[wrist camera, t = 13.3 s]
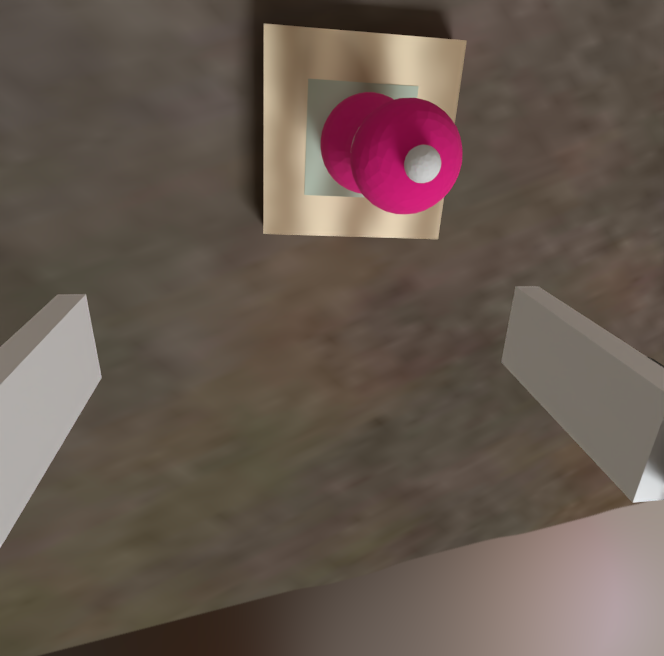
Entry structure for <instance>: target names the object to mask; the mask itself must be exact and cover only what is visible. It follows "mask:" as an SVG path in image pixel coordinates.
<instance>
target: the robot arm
mask: <svg viewBox="0 0 664 656" xmlns="http://www.w3.org/2000/svg"><path fill="white" fill-rule="evenodd" d="M501 362H502V363H503V364H504V366H505V367H506V368H507V369H508V370H509V371H510V372H511V373H512V374H513V375H514V376H515V377H516V378H517V379H518V380H519V382H520V383H521V384H522V385H523V386H524V387H525V388H526V389H527V390H528V391H529V392H530V393H531V394H532V395H533V397H534V398H535V399H536V400H537V401H538V402H539V403H540V404H541V405H542V406H543V407H544V408H545V409H546V410H547V411H548V413H549V414H550V415H551V416H552V417H553V418H554V419H555V420H556V421H557V422H558V423H559V424H560V425H561V426H562V427H563V429H564V430H565V431H566V432H567V433H568V434H569V435H570V436H571V437H572V438H573V439H574V440H575V441H576V442H577V444H578V445H579V446H580V447H581V448H582V449H583V450H584V451H585V452H586V453H587V454H588V455H589V456H590V457H591V458H592V460H593V461H594V462H595V463H596V464H597V465H598V466H599V467H600V468H601V469H602V470H603V471H604V472H605V473H606V474H607V476H608V477H609V478H610V479H611V480H612V481H613V482H614V483H615V484H616V485H617V486H618V487H619V488H620V489H621V490H622V492H623V493H624V494H625V495H626V496H627V497H628V498H629V499H630V500H631V501H632V502H644V501H657V500H664V366H663V365H661V364H660V363H658V362H657V361H655V360H654V359H652V358H649V357H647V356H645V355H643V354H642V353H640V352H639V351H637V350H636V349H634V348H632V347H631V346H629V345H628V344H626V343H625V342H623V341H622V340H620V339H619V338H617V337H616V336H614V335H612V334H611V333H609V332H608V331H606V330H605V329H603V328H602V327H600V326H599V325H597V324H596V323H594V322H592V321H591V320H589V319H588V318H586V317H585V316H583V315H582V314H580V313H579V312H577V311H575V310H574V309H572V308H571V307H569V306H568V305H566V304H565V303H563V302H562V301H560V300H559V299H557V298H555V297H554V296H552V295H551V294H549V293H548V292H546V291H545V290H543V289H542V288H540V287H539V286H517V287H516V288H515V293H514V298H513V303H512V309H511V314H510V319H509V324H508V330H507V335H506V340H505V345H504V351H503V356H502V361H501ZM101 378H102V377H101V372H100V366H99V361H98V356H97V351H96V345H95V340H94V335H93V329H92V324H91V319H90V314H89V308H88V303H87V298H86V294H68V295H57V296H56V297H54V298H53V299H52V300H51V301H50V302H49V303H48V304H47V305H46V306H45V307H44V308H42V309H41V310H40V311H39V312H38V313H37V314H36V315H35V316H34V317H33V318H32V319H30V320H29V321H28V322H27V323H26V324H25V325H24V326H23V327H22V328H21V329H20V330H18V331H17V332H16V333H15V334H14V335H13V336H12V337H11V338H10V339H9V340H7V341H6V342H5V343H4V344H3V345H2V346H1V347H0V547H1V546H2V544H3V542H4V541H5V539H6V537H7V536H8V534H9V532H10V531H11V529H12V527H13V526H14V524H15V522H16V521H17V519H18V517H19V516H20V514H21V512H22V511H23V509H24V507H25V505H26V504H27V502H28V500H29V499H30V497H31V495H32V494H33V492H34V490H35V489H36V487H37V485H38V484H39V482H40V480H41V479H42V477H43V475H44V474H45V472H46V470H47V468H48V467H49V465H50V463H51V462H52V460H53V458H54V457H55V455H56V453H57V452H58V450H59V448H60V447H61V445H62V443H63V442H64V440H65V438H66V437H67V435H68V433H69V432H70V430H71V428H72V426H73V425H74V423H75V421H76V420H77V418H78V416H79V415H80V413H81V411H82V410H83V408H84V406H85V405H86V403H87V401H88V400H89V398H90V396H91V395H92V393H93V391H94V390H95V388H96V386H97V384H98V383H99V381H100V379H101Z"/></svg>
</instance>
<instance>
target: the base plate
mask: <svg viewBox="0 0 664 656" xmlns="http://www.w3.org/2000/svg"><path fill="white" fill-rule="evenodd" d="M465 48H466V40H454V39H442V38H430V37H418V36H407V35H395V34H383V33H371V32H359V31H347V30H335V29H323V28H311V27H299V26H287V25H275V24H264V219H263V234H287V235H319V236H352V237H385V238H418V239H438V235H439V228H440V221H441V215H442V208H443V201H444V198H443V199H442V200H440V201H439V202H438V203H437V204H435V205H434V206H432V207H430V208H428V209H427V210H425V211H422V212H418V213H415V214H394V213H390V212H386V211H384V210H382V209H380V208H378V207H376V206H374V205H373V204H372V203H371V202H370V201H369V200H367V199H366V198H365V197H364V196H363V194H360V193H356V192H353V191H350V190H348V189H346V188H344V187H343V186H341V185H339V184H338V183H337V182H336V181H335V180H334V179H333V178H332V177H331V175H330V174H329V173H328V171H327V169H326V167H325V165H324V162H323V159H322V155H321V134H322V130H323V127H324V124H325V122H326V120H327V118H328V116H329V114H330V113H331V112H332V110H333V109H334V108H335V107H336V106H337V105H338V104H339V103H340V102H342V101H343V100H344V99H346V98H348V97H350V96H352V95H355V94H358V93H364V92H375V93H380V94H383V95H386V96H388V97H391V98H393V99H394V100H395V99H399V98H419V99H423V100H427V101H429V102H431V103H433V104H435V105H437V106H438V107H440V108H441V109H442V110H444V111H445V112H446V113H447V114H448V116H449V117H450V118H451V119H452V121H453V122H454V124H455V117H456V111H457V104H458V97H459V90H460V83H461V76H462V69H463V62H464V55H465Z"/></svg>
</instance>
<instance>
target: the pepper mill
mask: <svg viewBox="0 0 664 656" xmlns="http://www.w3.org/2000/svg"><path fill="white" fill-rule="evenodd" d="M321 155H322V159H323V162H324V165H325V167H326V169H327V171H328V173H329V174H330V175H331V177H332V178H333V179H334V180H335V181H336V182H337V183H338V184H339V185H341V186H343V187H344V188H346V189H348V190H350V191H353V192H356V193H360V194H363V196H364V197H365V198H366V199H367V200H369V201H370V202H371V203H372V204H373V205H374V206H376V207H378V208H380V209H382V210H384V211H386V212H390V213H394V214H415V213H418V212H422V211H425V210H427V209H428V208H430V207H432V206H434V205H435V204H437V203H438V202H439V201H440V200H442V199H443V198H444V197H445V195H446V194H447V193H448V192H449V191H450V189H451V188H452V186H453V185H454V183H455V181H456V179H457V177H458V175H459V172H460V168H461V164H462V144H461V138H460V135H459V132H458V129H457V127H456V126H455V124H454V122H453V121H452V119H451V118H450V117H449V116H448V114H447V113H446V112H445V111H444V110H442V109H441V108H440V107H438V106H437V105H435V104H433V103H431V102H429V101H427V100H423V99H419V98H399V99H395V100H394V99H393V98H391V97H388V96H386V95H383V94H380V93H375V92H364V93H358V94H355V95H352V96H350V97H348V98H346V99H344V100H343V101H342V102H340V103H339V104H338V105H337V106H336V107H335V108H334V109H333V110H332V112H331V113H330V114H329V116H328V118H327V120H326V122H325V124H324V127H323V130H322V134H321Z"/></svg>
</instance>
